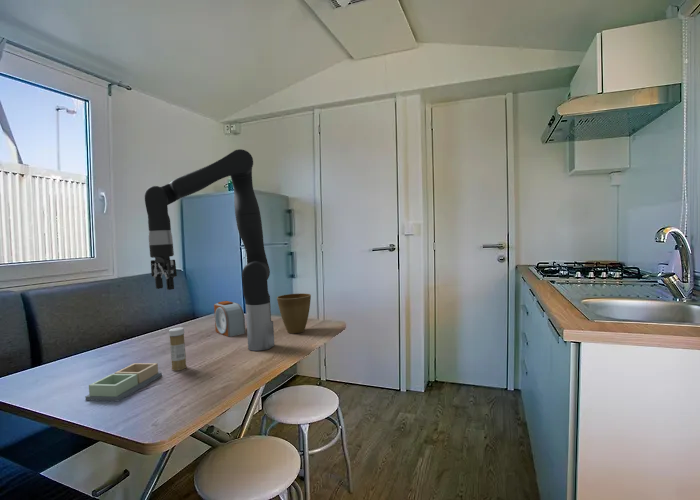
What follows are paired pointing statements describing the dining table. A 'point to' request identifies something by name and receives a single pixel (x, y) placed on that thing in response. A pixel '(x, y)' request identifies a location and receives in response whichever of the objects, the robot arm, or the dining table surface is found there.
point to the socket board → (123, 382)
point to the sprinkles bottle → (177, 348)
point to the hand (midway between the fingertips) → (164, 288)
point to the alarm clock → (229, 318)
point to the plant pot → (294, 311)
